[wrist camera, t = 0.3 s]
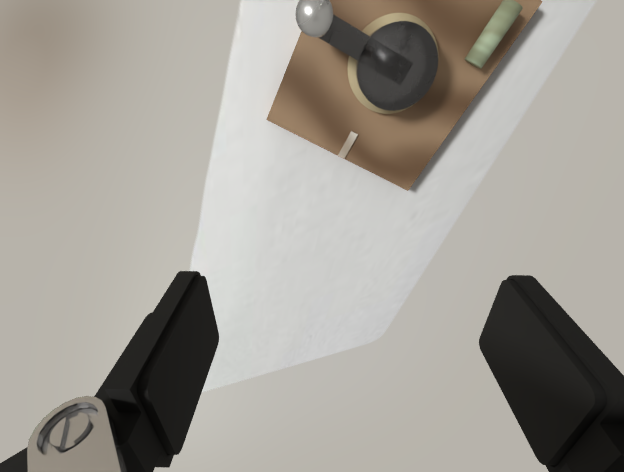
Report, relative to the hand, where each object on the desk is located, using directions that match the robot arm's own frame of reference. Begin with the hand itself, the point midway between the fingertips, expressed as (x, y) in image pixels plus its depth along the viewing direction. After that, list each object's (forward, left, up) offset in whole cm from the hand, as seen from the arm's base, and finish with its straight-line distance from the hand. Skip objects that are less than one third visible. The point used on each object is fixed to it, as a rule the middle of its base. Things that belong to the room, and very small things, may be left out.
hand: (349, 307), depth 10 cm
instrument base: (-7, +3, -29) cm, 30 cm away
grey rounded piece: (-7, 0, -26) cm, 27 cm away
